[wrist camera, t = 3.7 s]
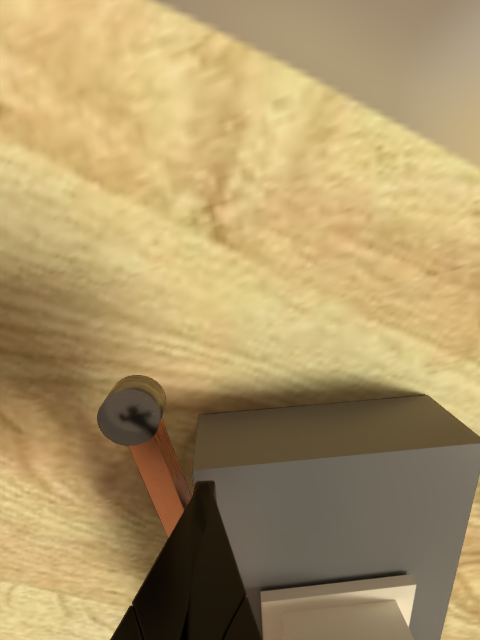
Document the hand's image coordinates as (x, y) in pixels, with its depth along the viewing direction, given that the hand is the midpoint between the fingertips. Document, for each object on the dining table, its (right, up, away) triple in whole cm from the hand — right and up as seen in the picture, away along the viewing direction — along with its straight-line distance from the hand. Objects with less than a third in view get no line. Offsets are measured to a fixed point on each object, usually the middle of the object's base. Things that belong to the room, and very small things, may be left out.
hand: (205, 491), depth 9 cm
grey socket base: (+5, -9, +7) cm, 13 cm away
